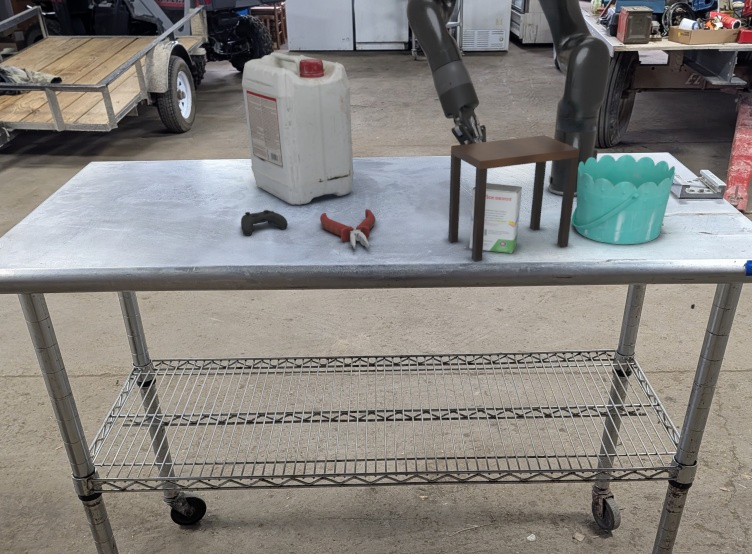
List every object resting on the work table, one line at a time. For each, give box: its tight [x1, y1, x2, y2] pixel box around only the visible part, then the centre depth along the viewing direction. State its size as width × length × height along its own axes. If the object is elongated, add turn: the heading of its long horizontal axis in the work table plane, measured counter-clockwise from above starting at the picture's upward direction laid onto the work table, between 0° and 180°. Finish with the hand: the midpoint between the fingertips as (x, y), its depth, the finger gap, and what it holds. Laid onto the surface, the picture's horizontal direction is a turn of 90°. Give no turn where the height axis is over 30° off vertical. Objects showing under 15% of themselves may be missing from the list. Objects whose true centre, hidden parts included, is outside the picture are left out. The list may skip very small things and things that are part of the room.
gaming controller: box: [240, 209, 288, 236], centre depth 151 cm, size 10×5×6 cm
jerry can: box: [241, 52, 355, 206], centre depth 166 cm, size 24×19×30 cm
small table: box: [447, 135, 579, 262], centre depth 136 cm, size 20×12×18 cm, turn 110°
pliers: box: [319, 208, 376, 251], centre depth 145 cm, size 12×20×3 cm, turn 12°
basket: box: [571, 154, 676, 246], centre depth 143 cm, size 19×18×13 cm
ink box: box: [469, 182, 523, 254], centre depth 137 cm, size 9×5×12 cm, turn 70°
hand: (483, 169), depth 151 cm, fingers closed
